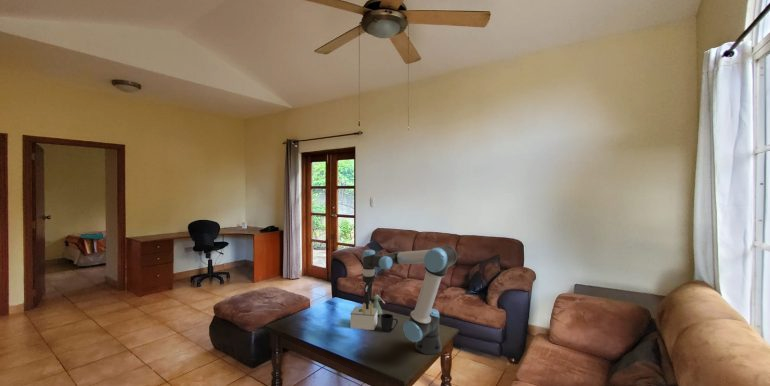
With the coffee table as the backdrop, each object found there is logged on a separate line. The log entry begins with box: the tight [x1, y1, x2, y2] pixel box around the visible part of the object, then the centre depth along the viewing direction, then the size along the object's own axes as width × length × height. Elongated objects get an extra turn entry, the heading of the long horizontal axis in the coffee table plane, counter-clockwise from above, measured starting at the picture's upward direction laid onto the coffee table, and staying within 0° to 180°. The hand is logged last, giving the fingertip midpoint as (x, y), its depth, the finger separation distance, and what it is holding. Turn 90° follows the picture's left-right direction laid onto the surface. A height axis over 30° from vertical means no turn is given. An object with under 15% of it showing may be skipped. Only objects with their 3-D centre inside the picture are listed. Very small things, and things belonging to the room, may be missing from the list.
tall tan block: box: [362, 302, 374, 315], centre depth 200 cm, size 6×3×6 cm, turn 81°
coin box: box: [350, 306, 378, 331], centre depth 219 cm, size 16×12×10 cm
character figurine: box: [371, 291, 386, 318], centre depth 236 cm, size 16×8×18 cm, turn 65°
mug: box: [380, 313, 399, 333], centre depth 212 cm, size 8×12×10 cm
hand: (367, 312), depth 200 cm, fingers closed on tall tan block, 3 cm apart
